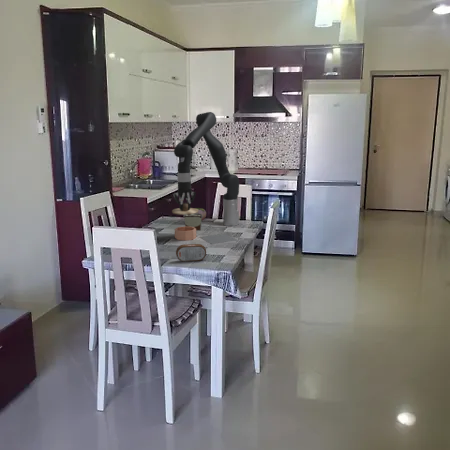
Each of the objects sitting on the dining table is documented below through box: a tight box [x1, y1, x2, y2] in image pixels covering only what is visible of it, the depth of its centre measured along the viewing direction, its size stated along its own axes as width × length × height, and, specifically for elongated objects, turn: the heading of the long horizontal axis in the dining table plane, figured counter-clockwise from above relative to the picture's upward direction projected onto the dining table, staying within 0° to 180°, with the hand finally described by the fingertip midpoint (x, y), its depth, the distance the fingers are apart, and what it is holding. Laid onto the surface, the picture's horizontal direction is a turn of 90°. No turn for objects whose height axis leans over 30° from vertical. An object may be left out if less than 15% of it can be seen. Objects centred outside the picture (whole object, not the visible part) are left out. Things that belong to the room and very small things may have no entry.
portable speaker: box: [175, 243, 207, 263], centre depth 230 cm, size 15×3×8 cm, turn 99°
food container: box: [183, 213, 203, 232], centre depth 291 cm, size 12×6×10 cm, turn 84°
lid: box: [171, 202, 198, 216], centre depth 267 cm, size 15×15×5 cm
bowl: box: [174, 225, 197, 241], centre depth 270 cm, size 12×12×6 cm
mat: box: [199, 233, 238, 245], centre depth 269 cm, size 17×17×1 cm
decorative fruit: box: [195, 206, 207, 221], centre depth 312 cm, size 9×8×10 cm
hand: (185, 210), depth 267 cm, fingers closed on lid, 3 cm apart
